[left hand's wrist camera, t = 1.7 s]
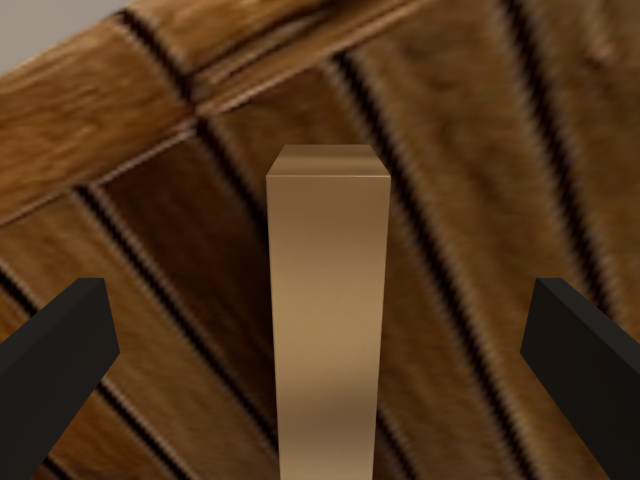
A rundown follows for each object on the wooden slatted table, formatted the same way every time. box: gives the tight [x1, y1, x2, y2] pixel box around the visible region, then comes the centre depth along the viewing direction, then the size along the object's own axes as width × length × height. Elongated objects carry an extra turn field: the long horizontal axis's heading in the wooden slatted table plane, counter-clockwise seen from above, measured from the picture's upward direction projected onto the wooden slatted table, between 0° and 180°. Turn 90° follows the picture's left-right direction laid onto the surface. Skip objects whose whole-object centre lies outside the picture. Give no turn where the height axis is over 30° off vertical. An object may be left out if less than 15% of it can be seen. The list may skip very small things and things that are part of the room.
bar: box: [266, 145, 391, 480], centre depth 24 cm, size 24×5×8 cm, turn 0°
